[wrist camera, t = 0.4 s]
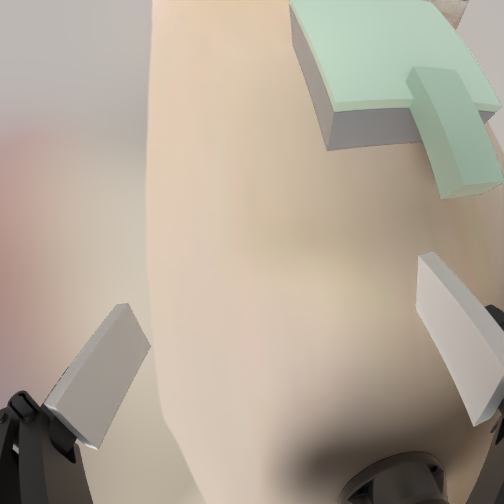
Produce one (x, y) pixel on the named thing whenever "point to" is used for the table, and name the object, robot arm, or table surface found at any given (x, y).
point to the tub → (355, 121)
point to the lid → (408, 80)
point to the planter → (451, 10)
